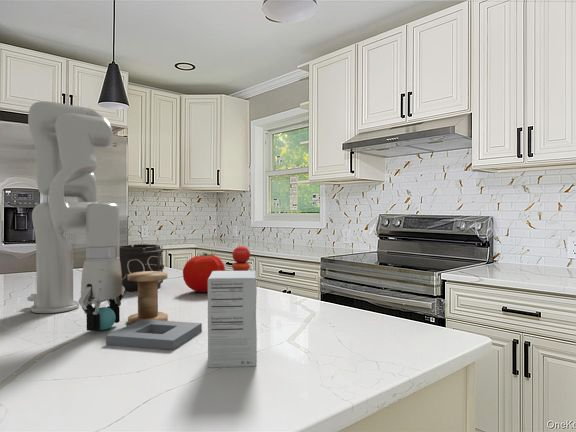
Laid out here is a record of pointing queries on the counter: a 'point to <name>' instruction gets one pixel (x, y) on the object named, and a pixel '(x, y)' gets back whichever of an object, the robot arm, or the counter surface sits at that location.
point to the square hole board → (142, 336)
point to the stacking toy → (241, 259)
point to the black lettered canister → (139, 262)
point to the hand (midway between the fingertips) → (103, 325)
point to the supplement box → (232, 319)
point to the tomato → (201, 271)
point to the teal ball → (106, 318)
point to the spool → (147, 296)
